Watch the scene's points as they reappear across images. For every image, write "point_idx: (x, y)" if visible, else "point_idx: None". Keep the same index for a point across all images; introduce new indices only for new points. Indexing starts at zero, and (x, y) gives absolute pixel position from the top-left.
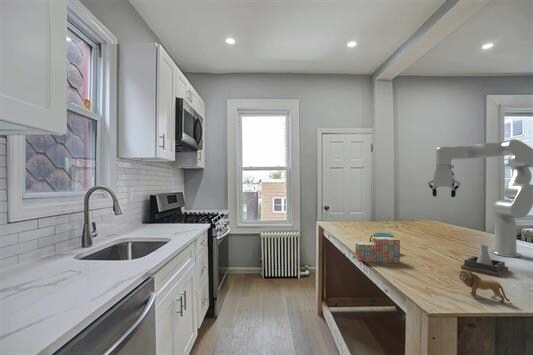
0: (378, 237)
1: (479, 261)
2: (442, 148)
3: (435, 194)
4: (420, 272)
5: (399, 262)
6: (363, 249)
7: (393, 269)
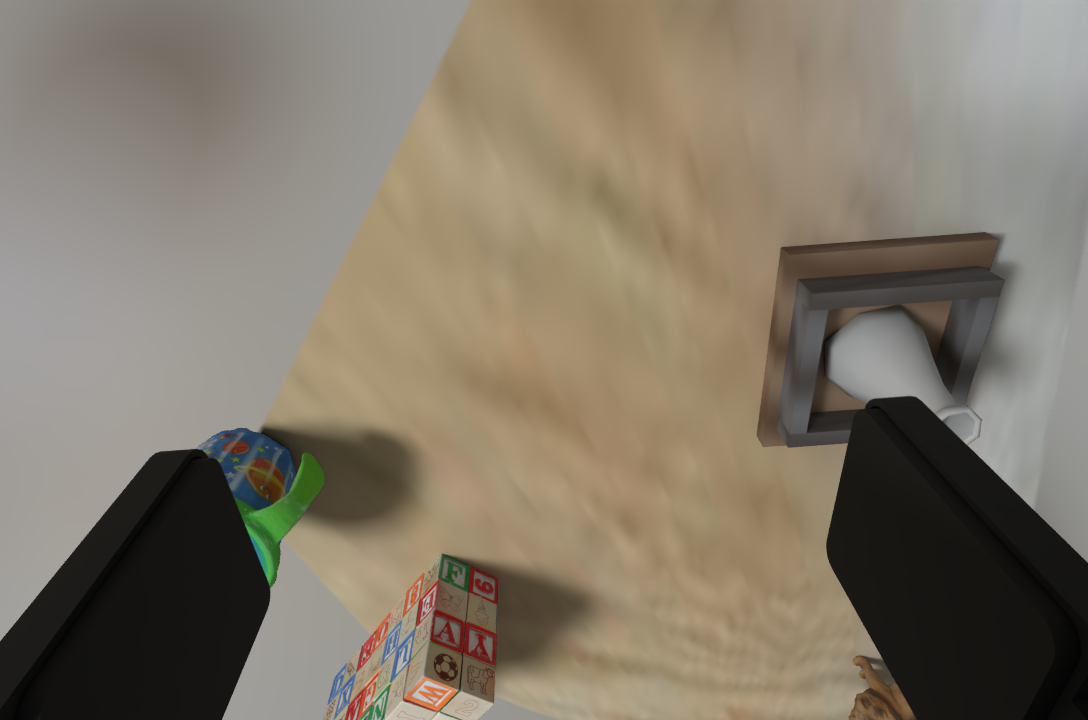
0: None
1: (864, 400)
2: None
3: (220, 590)
4: (643, 618)
5: (497, 581)
6: None
7: (548, 664)
